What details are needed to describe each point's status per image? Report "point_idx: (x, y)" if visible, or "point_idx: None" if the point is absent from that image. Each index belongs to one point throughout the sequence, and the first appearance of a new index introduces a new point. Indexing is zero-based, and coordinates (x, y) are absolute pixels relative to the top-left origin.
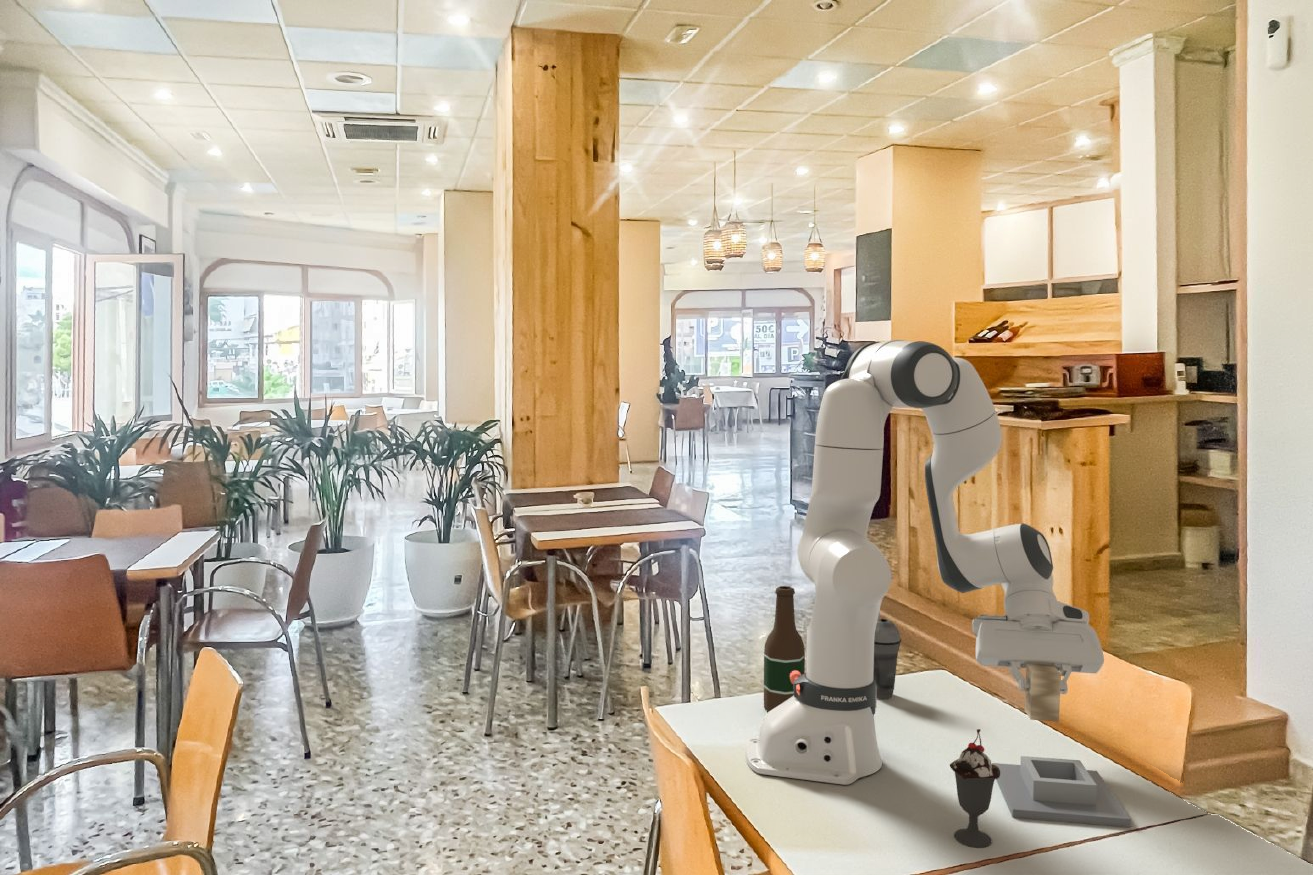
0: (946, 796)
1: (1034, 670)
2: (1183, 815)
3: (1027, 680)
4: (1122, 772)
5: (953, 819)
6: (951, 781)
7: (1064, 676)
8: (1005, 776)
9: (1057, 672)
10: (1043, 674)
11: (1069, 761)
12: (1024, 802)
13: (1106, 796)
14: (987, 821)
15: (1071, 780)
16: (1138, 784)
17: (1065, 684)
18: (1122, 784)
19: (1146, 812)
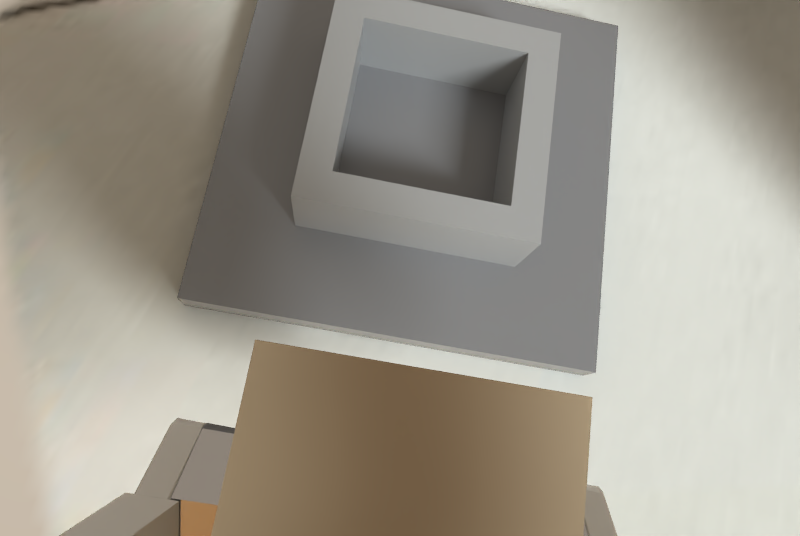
0: (775, 172)
1: (546, 473)
2: (39, 24)
3: None
4: (31, 362)
5: (772, 41)
6: (746, 278)
7: (130, 529)
8: (576, 248)
9: (272, 404)
10: (461, 377)
11: (346, 183)
12: (569, 61)
13: (265, 88)
14: (682, 26)
15: (418, 23)
16: (38, 249)
17: (170, 456)
18: (108, 250)
19: (158, 48)
